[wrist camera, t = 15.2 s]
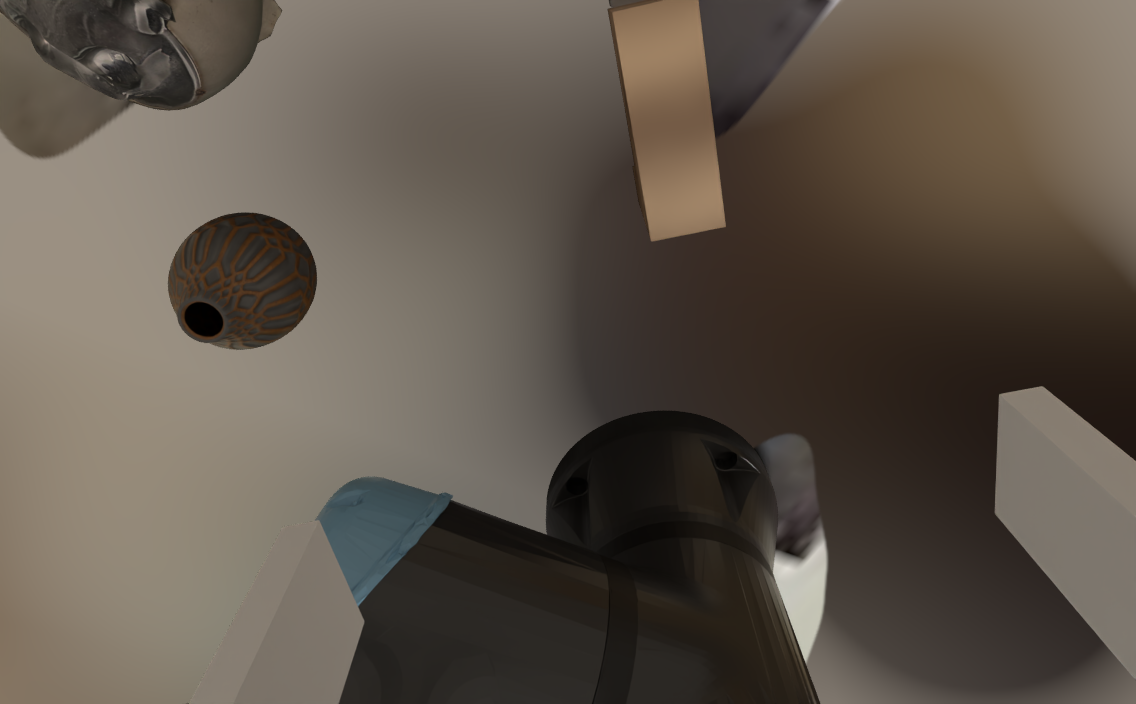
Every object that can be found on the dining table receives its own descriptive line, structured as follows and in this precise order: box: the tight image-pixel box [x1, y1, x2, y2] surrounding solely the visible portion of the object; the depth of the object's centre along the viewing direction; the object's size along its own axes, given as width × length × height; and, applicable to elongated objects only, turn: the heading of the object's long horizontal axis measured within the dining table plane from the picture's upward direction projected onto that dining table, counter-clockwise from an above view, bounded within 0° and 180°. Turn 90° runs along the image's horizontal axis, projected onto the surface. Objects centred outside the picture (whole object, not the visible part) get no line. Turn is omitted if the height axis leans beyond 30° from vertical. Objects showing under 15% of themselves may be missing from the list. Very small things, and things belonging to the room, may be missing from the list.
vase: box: [168, 213, 317, 350], centre depth 39 cm, size 7×7×9 cm
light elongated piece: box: [608, 0, 726, 241], centre depth 34 cm, size 19×7×7 cm, turn 12°
